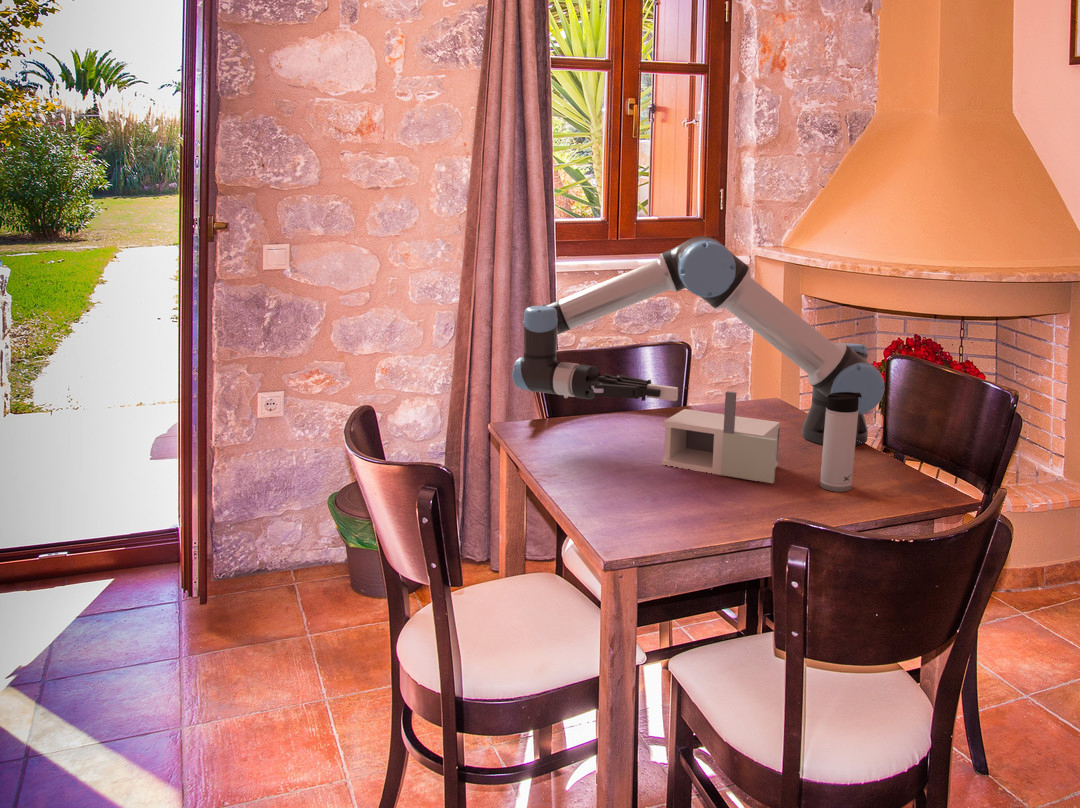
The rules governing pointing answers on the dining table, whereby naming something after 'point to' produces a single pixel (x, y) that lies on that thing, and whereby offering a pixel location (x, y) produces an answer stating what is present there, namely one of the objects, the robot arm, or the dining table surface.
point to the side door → (746, 450)
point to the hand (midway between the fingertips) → (676, 394)
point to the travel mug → (839, 441)
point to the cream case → (707, 439)
